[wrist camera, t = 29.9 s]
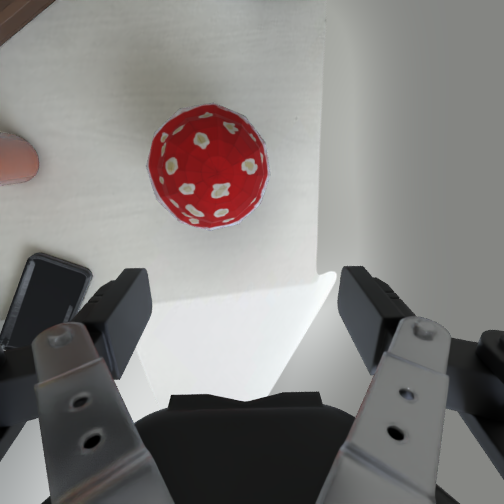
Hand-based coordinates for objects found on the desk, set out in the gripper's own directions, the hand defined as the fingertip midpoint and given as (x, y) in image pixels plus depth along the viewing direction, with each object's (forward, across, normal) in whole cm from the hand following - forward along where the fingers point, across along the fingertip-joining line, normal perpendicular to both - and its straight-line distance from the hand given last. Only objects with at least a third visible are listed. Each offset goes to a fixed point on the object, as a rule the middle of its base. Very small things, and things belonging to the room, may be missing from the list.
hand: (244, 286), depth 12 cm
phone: (+26, +28, +18) cm, 42 cm away
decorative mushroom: (+32, +5, 0) cm, 32 cm away
